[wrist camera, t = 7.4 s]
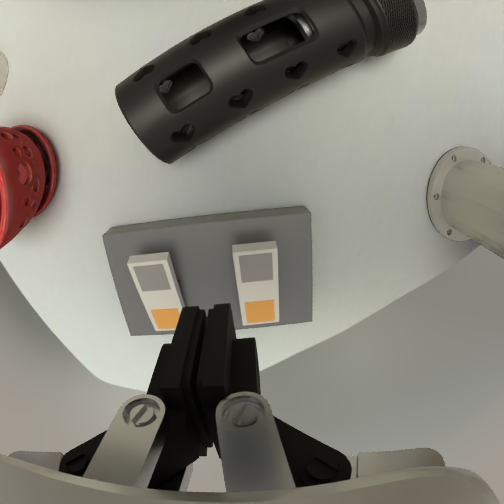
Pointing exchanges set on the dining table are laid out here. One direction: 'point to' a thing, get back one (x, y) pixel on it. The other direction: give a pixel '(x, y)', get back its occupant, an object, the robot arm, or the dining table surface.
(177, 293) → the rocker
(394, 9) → the muzzle brake
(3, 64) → the cup
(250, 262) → the rocker
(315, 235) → the dining table surface
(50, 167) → the plant pot
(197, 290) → the switch panel
